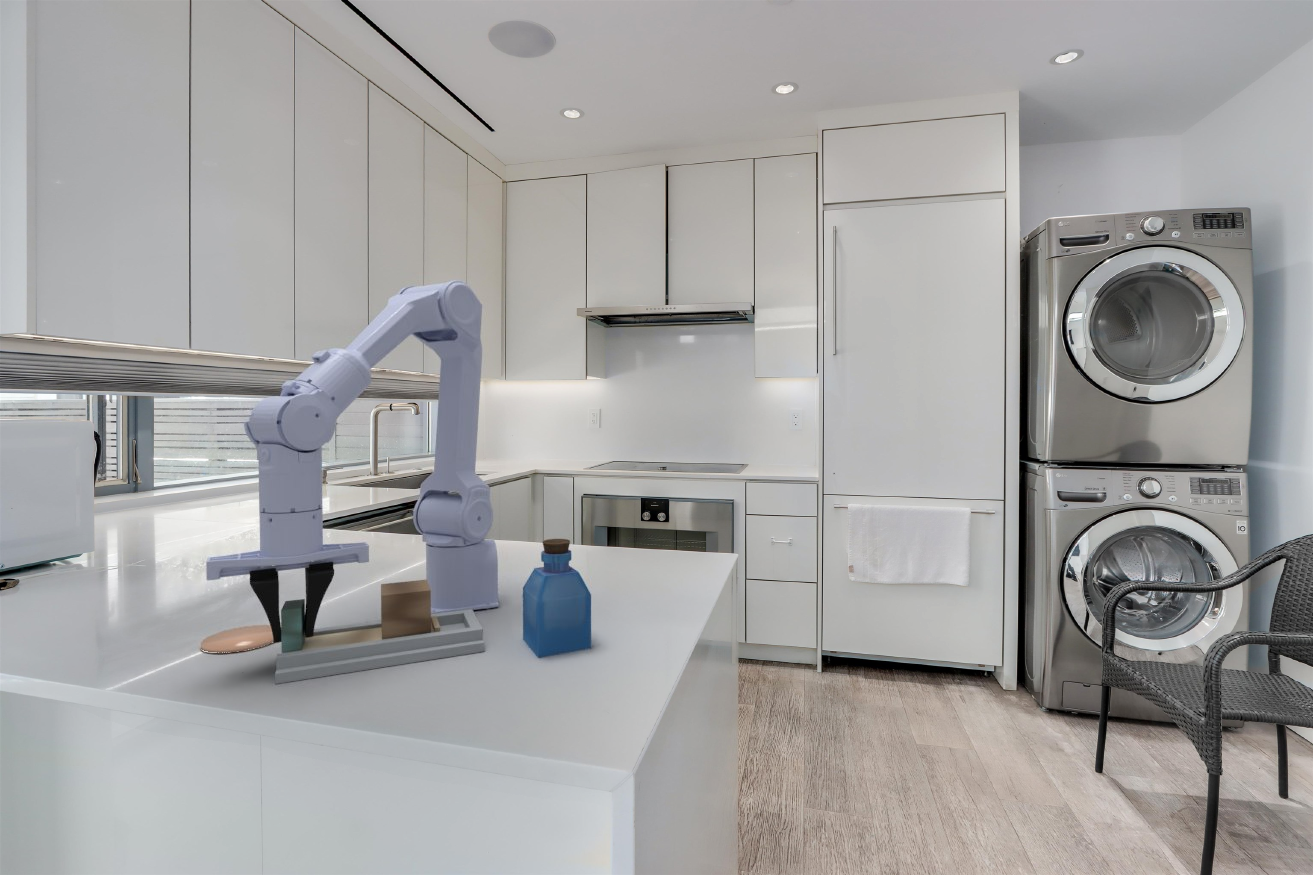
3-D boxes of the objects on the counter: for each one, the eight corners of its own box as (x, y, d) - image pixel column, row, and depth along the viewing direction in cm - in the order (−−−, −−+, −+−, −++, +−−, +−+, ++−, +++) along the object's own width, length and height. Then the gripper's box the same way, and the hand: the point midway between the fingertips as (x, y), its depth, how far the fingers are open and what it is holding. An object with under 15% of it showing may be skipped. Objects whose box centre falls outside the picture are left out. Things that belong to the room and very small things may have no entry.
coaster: (287, 625, 76) (287, 621, 76) (278, 646, 69) (278, 642, 69) (209, 634, 73) (209, 630, 73) (192, 658, 66) (192, 654, 66)
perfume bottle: (537, 658, 66) (537, 548, 66) (522, 639, 72) (522, 538, 71) (591, 648, 69) (591, 543, 69) (572, 631, 75) (572, 534, 74)
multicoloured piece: (436, 626, 73) (436, 583, 73) (440, 639, 68) (440, 594, 68) (286, 646, 66) (286, 599, 66) (280, 662, 62) (280, 612, 62)
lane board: (471, 623, 77) (470, 606, 77) (484, 651, 68) (484, 631, 68) (287, 648, 68) (287, 629, 68) (275, 683, 59) (274, 661, 59)
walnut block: (427, 620, 72) (427, 579, 72) (431, 634, 68) (430, 590, 68) (381, 626, 70) (380, 584, 70) (382, 641, 66) (381, 595, 66)
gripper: (362, 500, 71) (363, 614, 72) (208, 510, 63) (211, 638, 64) (371, 507, 65) (372, 632, 66) (203, 519, 57) (206, 661, 58)
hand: (293, 637), depth 64 cm, fingers closed on multicoloured piece, 2 cm apart
